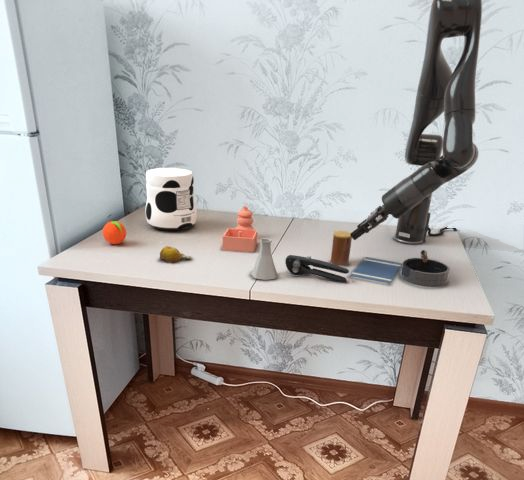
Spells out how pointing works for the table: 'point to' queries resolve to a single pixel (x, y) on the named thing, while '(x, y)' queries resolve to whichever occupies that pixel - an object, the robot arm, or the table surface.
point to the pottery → (241, 233)
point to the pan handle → (424, 255)
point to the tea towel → (376, 270)
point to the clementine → (114, 232)
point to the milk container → (170, 198)
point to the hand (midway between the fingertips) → (355, 233)
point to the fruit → (171, 254)
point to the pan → (425, 272)
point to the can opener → (300, 267)
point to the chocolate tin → (341, 248)
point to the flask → (264, 262)
